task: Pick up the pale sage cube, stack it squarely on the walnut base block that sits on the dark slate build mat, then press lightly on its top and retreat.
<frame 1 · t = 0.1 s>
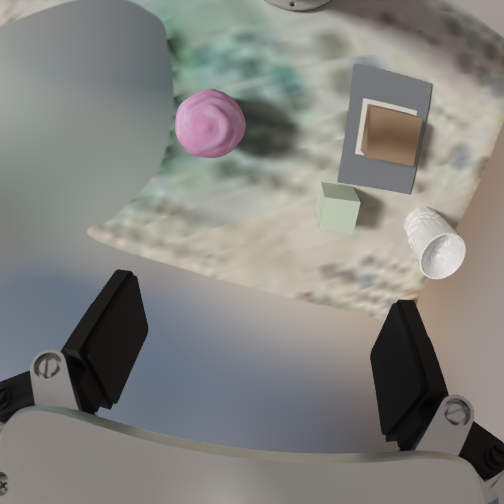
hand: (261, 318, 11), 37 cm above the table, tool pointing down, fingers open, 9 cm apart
white cup: (421, 223, 47), on the table
cupcake: (220, 116, 42), on the table
walnut base block: (386, 131, 39), resting on build mat
build mat: (385, 131, 40), on the table
sage cube: (334, 199, 47), on the table
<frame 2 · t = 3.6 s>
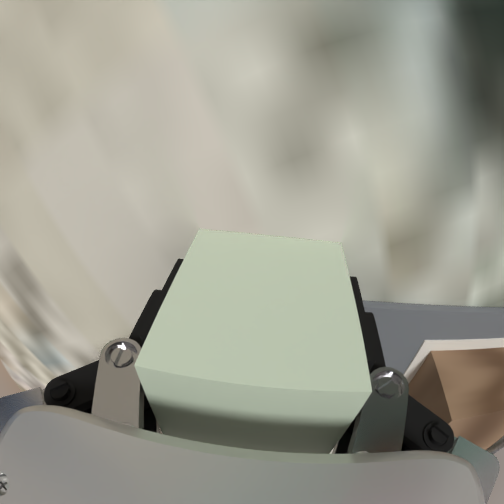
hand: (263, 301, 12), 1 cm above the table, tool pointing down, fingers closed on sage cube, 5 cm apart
walnut base block: (451, 387, 14), resting on build mat
build mat: (450, 381, 15), on the table
sage cube: (264, 291, 12), on the table, touching gripper
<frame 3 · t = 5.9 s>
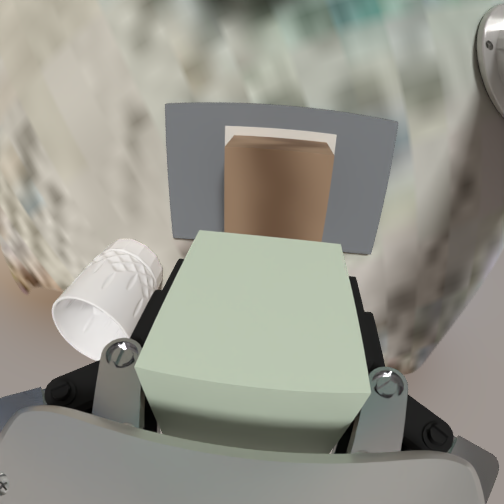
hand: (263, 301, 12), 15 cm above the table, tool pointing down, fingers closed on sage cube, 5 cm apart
white cup: (134, 264, 31), on the table
walnut base block: (277, 180, 24), resting on build mat
build mat: (277, 179, 25), on the table
sage cube: (264, 292, 12), point 15 cm above the table, touching gripper
when the fingers open (6 cm above the table, at t = 8.4 s): sage cube drops 1 cm, resting on walnut base block.
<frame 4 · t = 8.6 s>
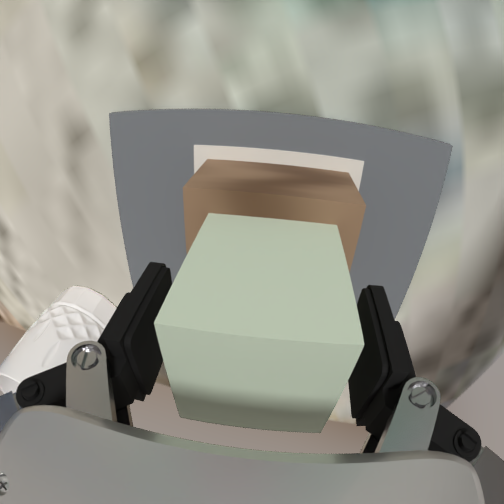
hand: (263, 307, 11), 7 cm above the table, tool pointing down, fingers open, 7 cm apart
white cup: (94, 314, 24), on the table
walnut base block: (272, 227, 17), resting on build mat, touching sage cube
build mat: (272, 223, 17), on the table
sage cube: (268, 271, 13), point 4 cm above the table, touching walnut base block
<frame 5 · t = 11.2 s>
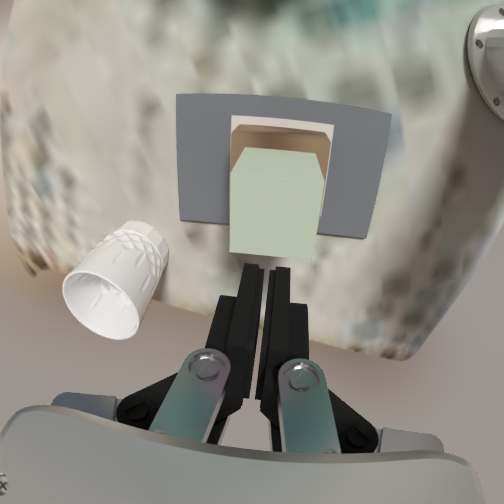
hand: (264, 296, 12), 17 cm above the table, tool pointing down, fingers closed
white cup: (141, 246, 33), on the table
walnut base block: (278, 166, 26), resting on build mat, touching sage cube
build mat: (279, 165, 26), on the table
sage cube: (277, 182, 23), point 4 cm above the table, touching walnut base block
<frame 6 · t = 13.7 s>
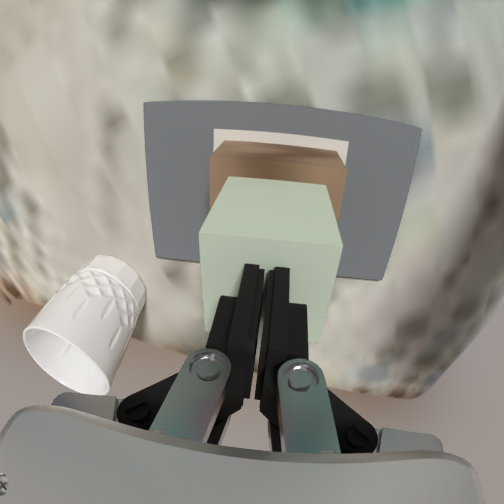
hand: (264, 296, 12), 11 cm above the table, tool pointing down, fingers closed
white cup: (115, 282, 27), on the table
walnut base block: (276, 195, 20), resting on build mat, touching sage cube
build mat: (276, 193, 21), on the table
sage cube: (273, 223, 17), point 4 cm above the table, touching gripper, walnut base block
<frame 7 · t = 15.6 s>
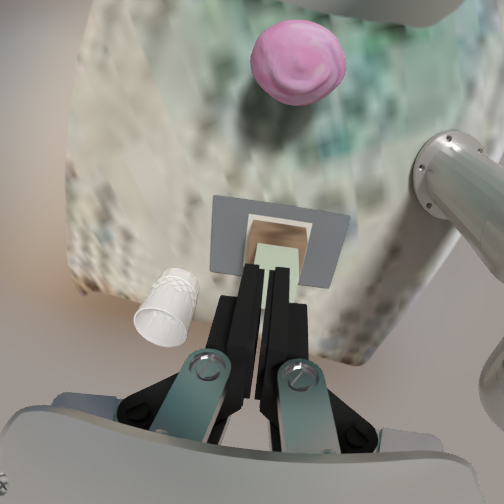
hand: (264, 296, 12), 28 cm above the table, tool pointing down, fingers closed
white cup: (179, 283, 49), on the table
cupcake: (295, 63, 30), on the table
walnut base block: (276, 246, 43), resting on build mat, touching sage cube
build mat: (276, 244, 43), on the table
sage cube: (275, 262, 40), point 4 cm above the table, touching walnut base block
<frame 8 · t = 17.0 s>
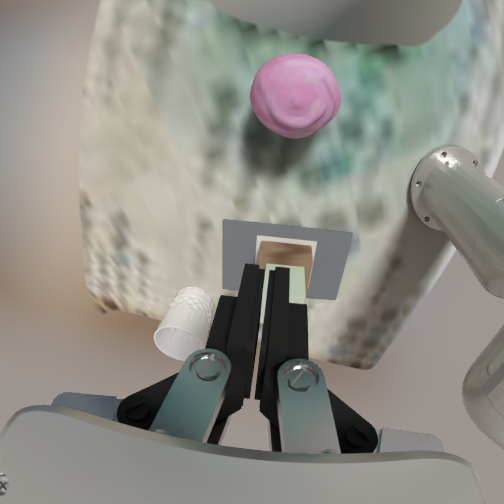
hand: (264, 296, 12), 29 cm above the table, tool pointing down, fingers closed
white cup: (194, 300, 52), on the table
cupcake: (294, 91, 33), on the table
walnut base block: (283, 263, 46), resting on build mat, touching sage cube
build mat: (284, 261, 46), on the table
sage cube: (283, 280, 42), point 4 cm above the table, touching walnut base block
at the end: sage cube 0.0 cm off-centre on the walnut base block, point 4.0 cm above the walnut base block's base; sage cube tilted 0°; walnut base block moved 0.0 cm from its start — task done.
